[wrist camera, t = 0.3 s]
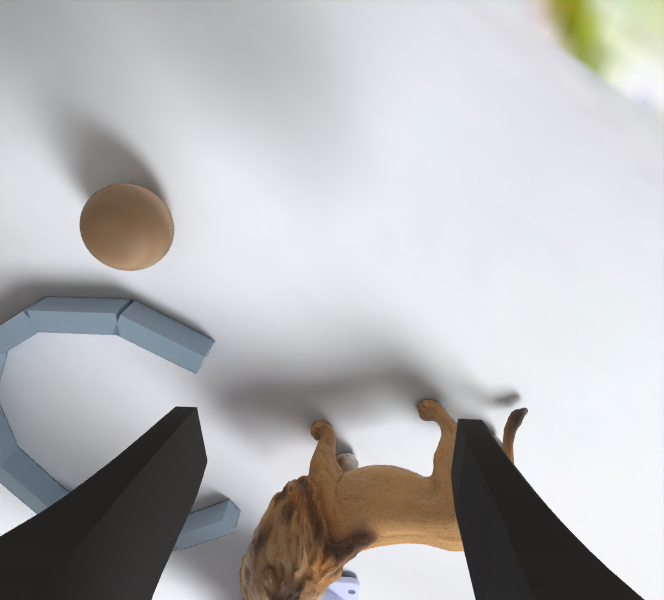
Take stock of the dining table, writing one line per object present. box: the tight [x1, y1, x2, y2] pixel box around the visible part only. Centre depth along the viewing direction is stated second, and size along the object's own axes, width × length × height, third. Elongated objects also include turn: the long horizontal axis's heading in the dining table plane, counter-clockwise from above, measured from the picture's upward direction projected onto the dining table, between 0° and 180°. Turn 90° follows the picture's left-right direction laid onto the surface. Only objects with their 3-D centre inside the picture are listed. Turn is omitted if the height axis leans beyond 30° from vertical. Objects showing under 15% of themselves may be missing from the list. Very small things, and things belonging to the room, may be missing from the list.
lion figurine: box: [240, 400, 528, 600], centre depth 21 cm, size 15×5×9 cm, turn 115°
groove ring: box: [0, 297, 240, 551], centre depth 26 cm, size 17×15×2 cm
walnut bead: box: [80, 184, 174, 271], centre depth 19 cm, size 4×4×4 cm
